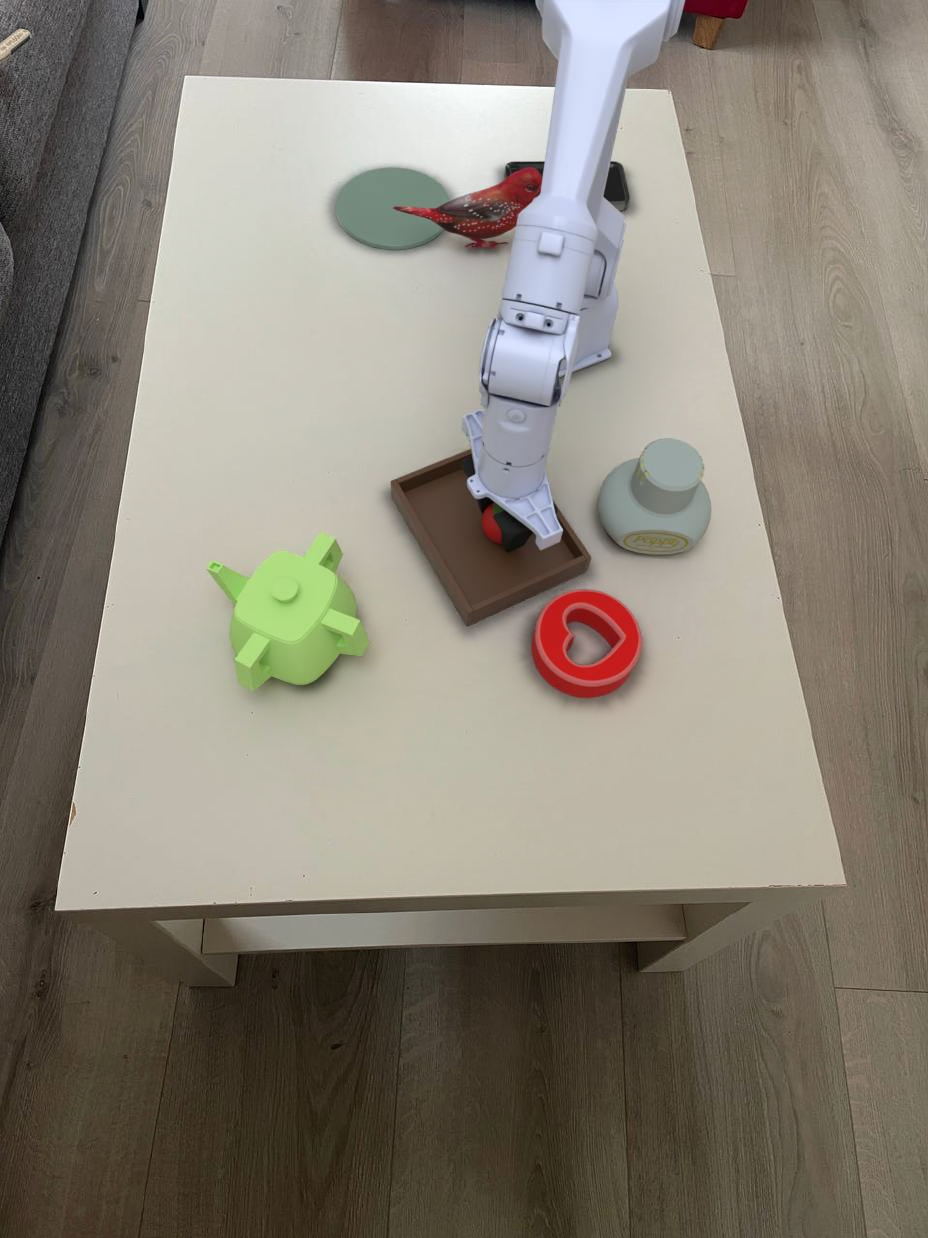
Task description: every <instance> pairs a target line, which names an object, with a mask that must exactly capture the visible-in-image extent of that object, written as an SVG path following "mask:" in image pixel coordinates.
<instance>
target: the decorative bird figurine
mask: <svg viewBox="0 0 928 1238" xmlns="http://www.w3.org/2000/svg"><path fill="white" fill-rule="evenodd" d="M541 186H542V176H541V174H540V173H539V172H538V170H536V169H535V168H524V169H522V170H519V171H517V172H514V173H512V174H511V175H510V176H508V177H507V178H506V179H505V178H504V179H503V180H502V181H501V182H499V183H497V184H495V185H492V186H490V187H487V188H484V189H481V190H477V191H473V192H469V193H467V194H464V195H461V196H459V197H456V198H454V199H452V200H451V199H450V201H449V202H447V203H445V204H443V205H441V206H439V207H437V208H418V207H404V206H401V207H397V206H396V207H393V209H395V210H397V211H401V212H404V213H408V214H412V215H415V216H419V217H423V218H427V219H429V220H431V221H433V222H435V223H436V224H438V225H439V226H440V227H442V228H443V229H444V230H443V231H445V232H447V233H450V234H455V235H458V236H462V237H464V238H467V239H469V240H471V241H473V242H470V243H468V244H466V245H465V246H464V248H467V247H470V248H472V249H473V248H488V249H492V248H495V247H497V246H501V245H507V244H509V242H506V241H503V242H497V241H495V240H490V241H487V240H488V239H493V238H495V237H500V236H502V235H504V234H506V233H508V232H509V231H511V230H513V229H515V228H516V224H517V219H518V215H519V213H520V212H521V211H522V210H523V209H525V208H526V207H527V206H528V205H529V204H530V203H532V201H533V199H534V198H536V197H538V195H539V193H540V191H541Z"/></svg>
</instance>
